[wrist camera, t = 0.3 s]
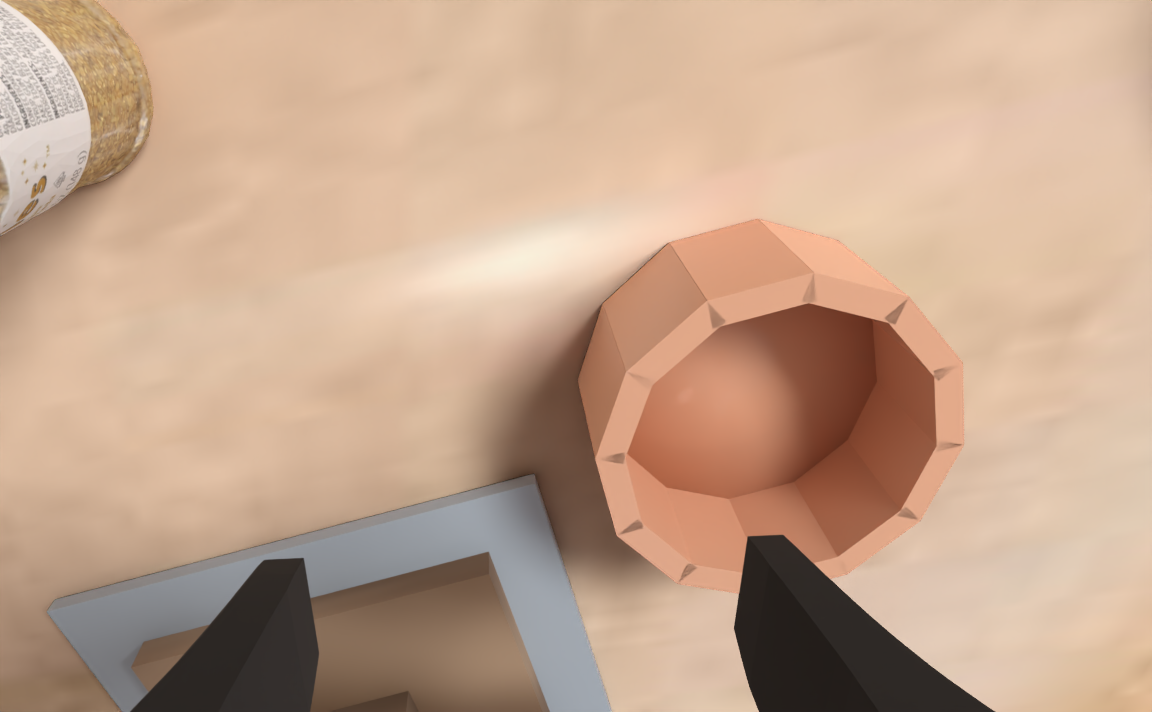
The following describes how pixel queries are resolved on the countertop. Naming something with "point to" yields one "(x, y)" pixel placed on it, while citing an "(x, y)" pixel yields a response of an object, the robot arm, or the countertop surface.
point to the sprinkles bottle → (65, 102)
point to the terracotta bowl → (766, 404)
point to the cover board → (406, 645)
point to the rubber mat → (355, 557)
